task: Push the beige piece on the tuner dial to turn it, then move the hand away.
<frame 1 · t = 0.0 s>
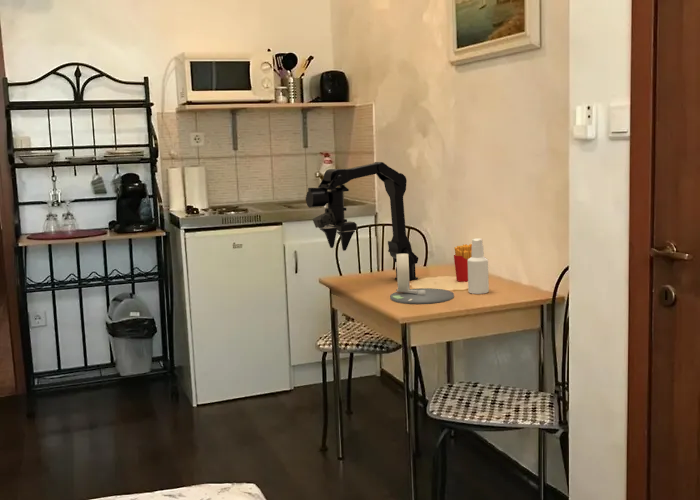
hand: (338, 249, 275), 15 cm above the table, tool pointing down, fingers open, 9 cm apart
spray bottle: (478, 292, 262), on the table
beige piece: (406, 273, 260), point 8 cm above the table, hinge at 0.0°
french fries: (466, 280, 283), on the table
tuner dial: (422, 297, 258), on the table
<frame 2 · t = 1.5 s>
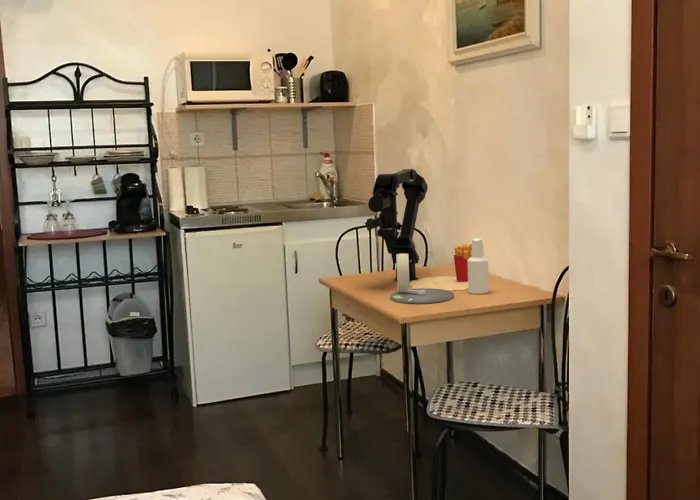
hand: (390, 253, 277), 12 cm above the table, tool pointing down, fingers closed
nothing on the table moved.
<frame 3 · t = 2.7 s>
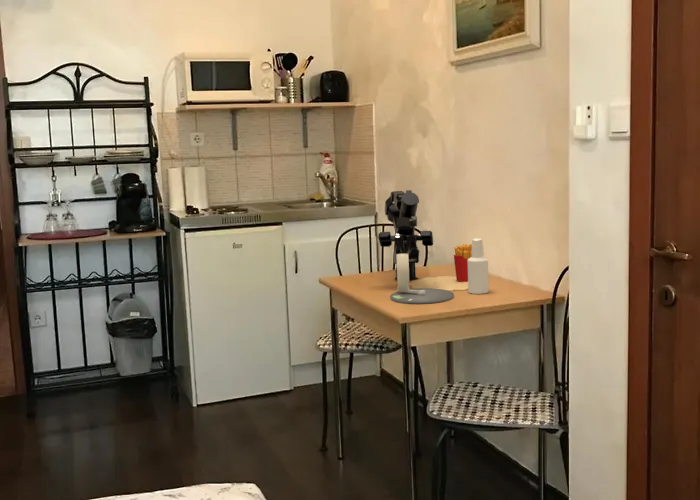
hand: (404, 258, 268), 11 cm above the table, tool tilted 45°, fingers closed
nothing on the table moved.
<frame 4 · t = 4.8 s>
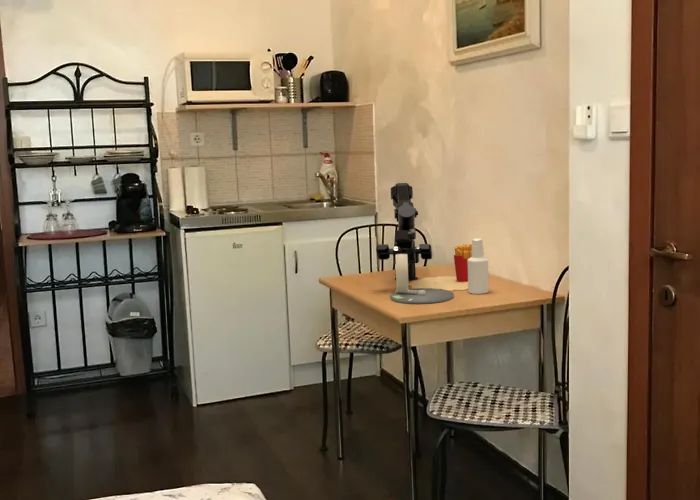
hand: (402, 272, 263), 8 cm above the table, tool tilted 45°, fingers closed, pressing on beige piece
beige piece: (405, 273, 260), point 8 cm above the table, hinge at 5.7°, touching gripper
everything else where it was.
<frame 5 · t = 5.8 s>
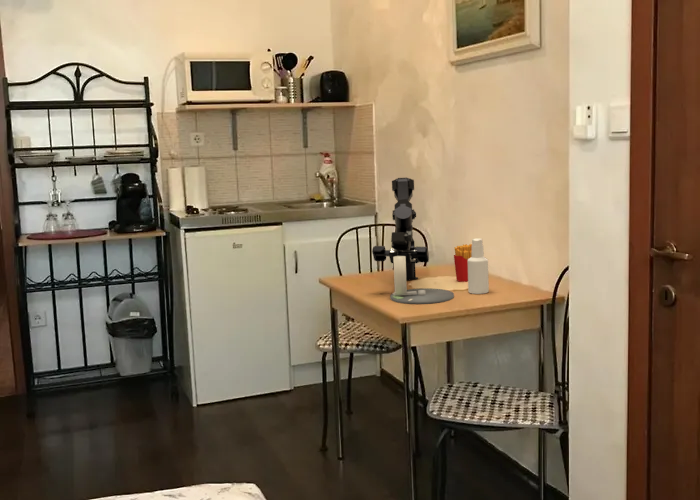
hand: (397, 274, 259), 8 cm above the table, tool tilted 45°, fingers closed, pressing on beige piece
beige piece: (404, 275, 257), point 8 cm above the table, hinge at 39.2°, touching gripper
everything else where it was.
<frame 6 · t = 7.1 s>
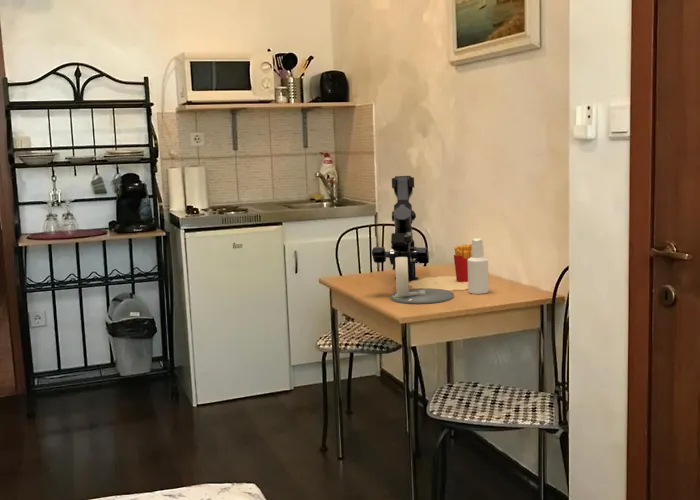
hand: (398, 275, 257), 8 cm above the table, tool tilted 45°, fingers closed, pressing on beige piece
beige piece: (405, 276, 255), point 8 cm above the table, hinge at 57.2°, touching gripper
everything else where it was.
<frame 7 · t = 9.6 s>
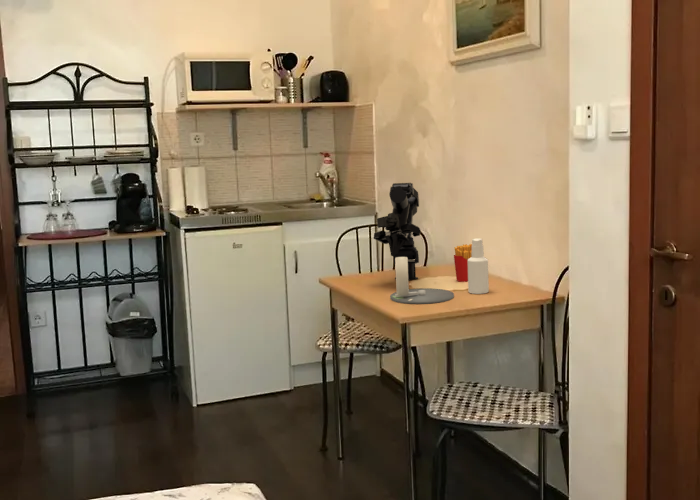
hand: (392, 255, 271), 12 cm above the table, tool tilted 30°, fingers closed
beige piece: (405, 276, 255), point 8 cm above the table, hinge at 57.2°
everything else where it was.
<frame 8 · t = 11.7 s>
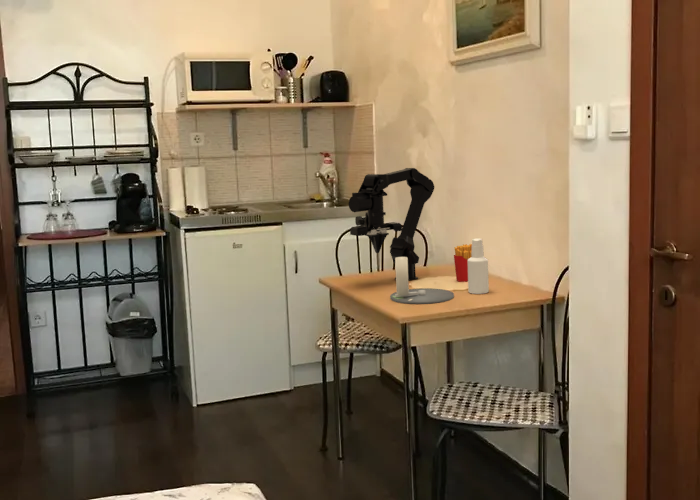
hand: (377, 252, 279), 12 cm above the table, tool pointing down, fingers closed
nothing on the table moved.
at the end: beige piece at +57° (first picture: +0°); spray bottle moved 0.2 cm from its start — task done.
